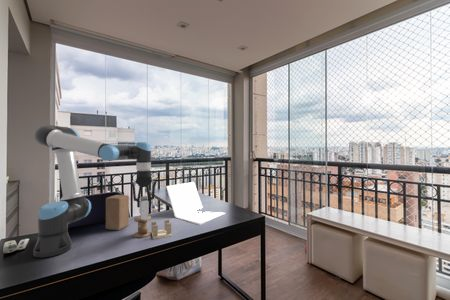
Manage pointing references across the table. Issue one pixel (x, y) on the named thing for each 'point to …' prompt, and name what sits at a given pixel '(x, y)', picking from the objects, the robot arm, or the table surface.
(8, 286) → the table surface
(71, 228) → the table surface
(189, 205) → the laptop
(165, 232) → the tan base with posts
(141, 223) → the spool
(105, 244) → the table surface
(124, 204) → the wooden block
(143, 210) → the tab
